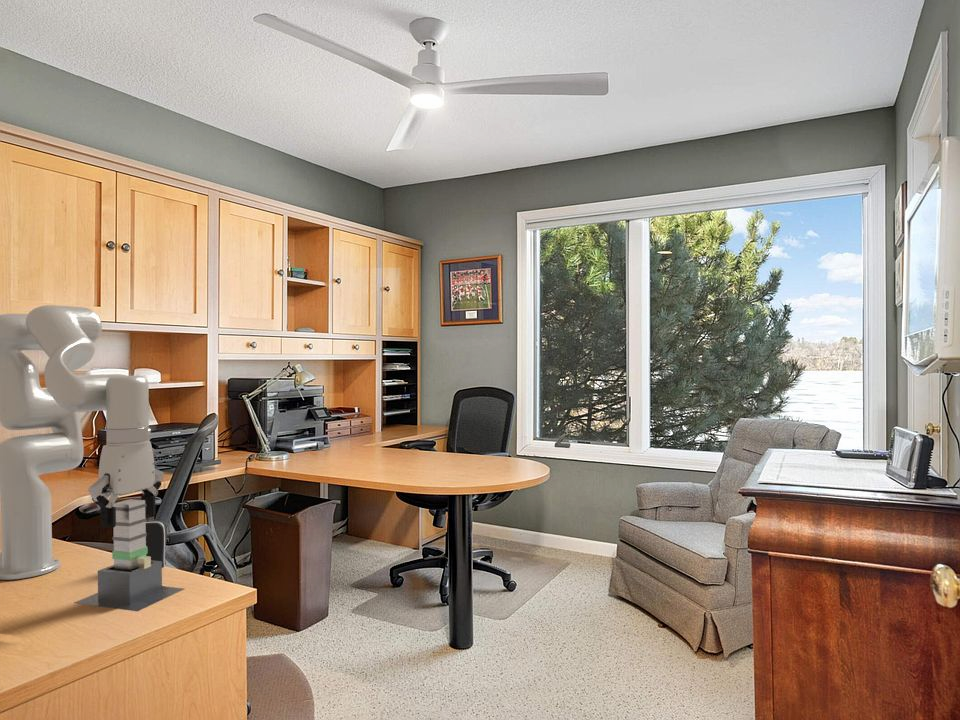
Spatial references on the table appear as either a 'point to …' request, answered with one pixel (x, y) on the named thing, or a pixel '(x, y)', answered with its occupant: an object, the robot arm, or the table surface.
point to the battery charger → (156, 540)
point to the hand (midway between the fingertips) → (129, 520)
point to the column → (129, 534)
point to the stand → (130, 587)
